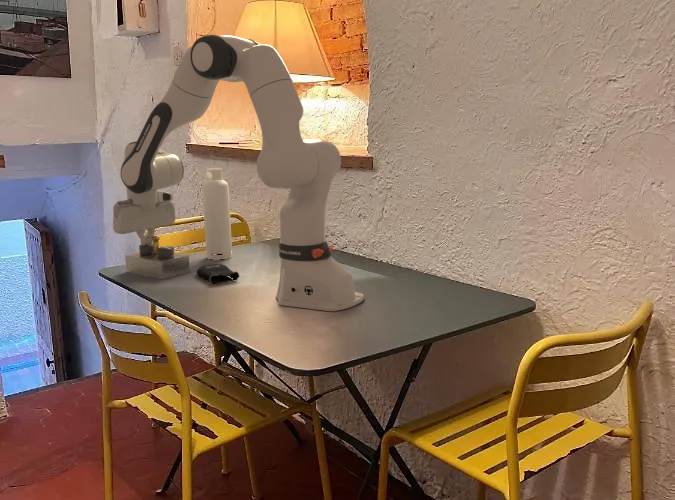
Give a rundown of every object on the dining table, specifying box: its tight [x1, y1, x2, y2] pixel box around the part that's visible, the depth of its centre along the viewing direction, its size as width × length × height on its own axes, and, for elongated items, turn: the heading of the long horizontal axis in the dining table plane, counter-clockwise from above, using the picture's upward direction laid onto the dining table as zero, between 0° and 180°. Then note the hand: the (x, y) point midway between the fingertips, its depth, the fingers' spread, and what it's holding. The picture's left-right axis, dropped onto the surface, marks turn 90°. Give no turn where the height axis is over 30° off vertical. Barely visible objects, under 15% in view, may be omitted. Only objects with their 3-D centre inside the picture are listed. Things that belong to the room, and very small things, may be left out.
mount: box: [125, 251, 191, 280], centre depth 201 cm, size 16×10×5 cm, turn 54°
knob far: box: [138, 243, 154, 255], centre depth 203 cm, size 5×5×7 cm
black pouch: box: [196, 263, 240, 285], centre depth 195 cm, size 9×6×15 cm
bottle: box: [201, 167, 233, 261], centre depth 216 cm, size 8×8×28 cm
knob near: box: [157, 245, 175, 259], centre depth 199 cm, size 5×5×7 cm
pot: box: [152, 235, 160, 255], centre depth 200 cm, size 2×2×5 cm
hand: (146, 243), depth 202 cm, fingers closed, pressing on knob far
